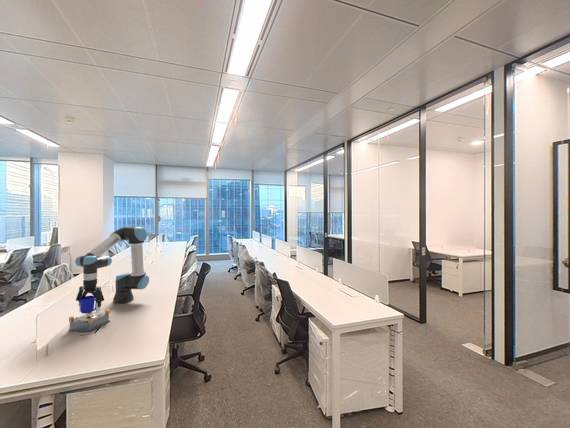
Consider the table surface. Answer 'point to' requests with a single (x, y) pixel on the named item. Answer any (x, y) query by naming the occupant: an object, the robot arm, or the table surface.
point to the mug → (87, 304)
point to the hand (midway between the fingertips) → (89, 311)
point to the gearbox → (89, 321)
